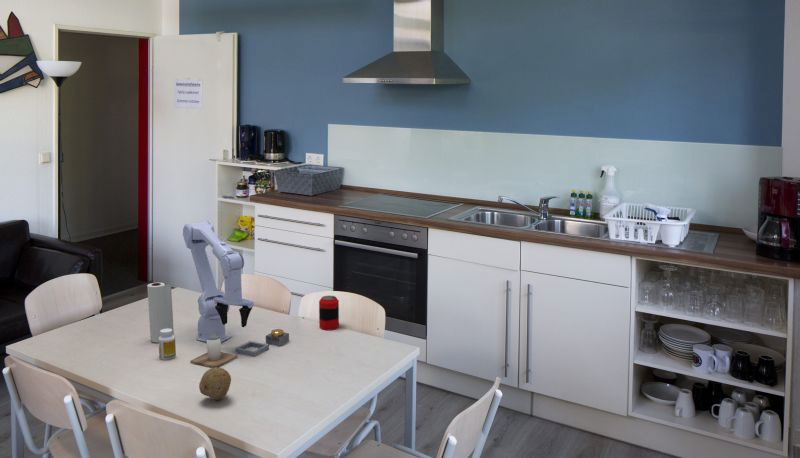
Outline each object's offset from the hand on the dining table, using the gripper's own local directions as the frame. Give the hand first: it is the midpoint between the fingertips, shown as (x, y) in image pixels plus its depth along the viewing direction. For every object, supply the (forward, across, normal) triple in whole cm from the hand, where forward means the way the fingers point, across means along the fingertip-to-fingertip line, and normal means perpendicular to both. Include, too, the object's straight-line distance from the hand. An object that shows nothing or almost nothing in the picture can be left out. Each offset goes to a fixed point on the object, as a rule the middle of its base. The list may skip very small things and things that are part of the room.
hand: (234, 325), depth 242 cm
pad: (+9, +2, +10) cm, 14 cm away
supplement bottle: (+10, +18, +13) cm, 25 cm away
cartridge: (+8, +2, +10) cm, 14 cm away
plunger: (+8, -10, -12) cm, 18 cm away
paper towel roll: (+10, +31, 0) cm, 32 cm away
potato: (+9, -15, +37) cm, 41 cm away
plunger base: (+9, -10, -12) cm, 18 cm away
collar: (+9, -6, -2) cm, 11 cm away
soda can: (+10, -22, -34) cm, 41 cm away
